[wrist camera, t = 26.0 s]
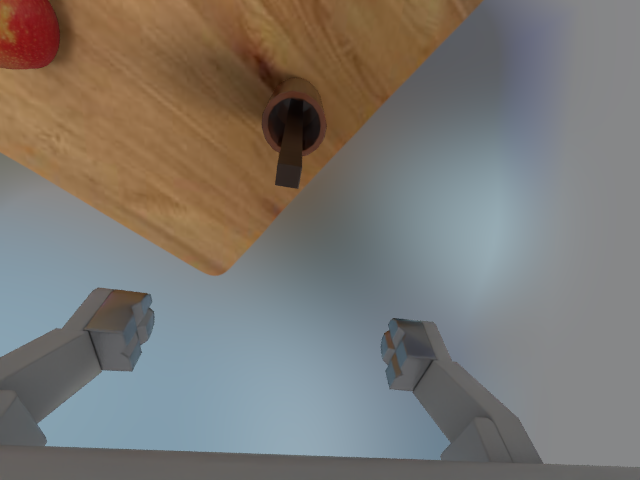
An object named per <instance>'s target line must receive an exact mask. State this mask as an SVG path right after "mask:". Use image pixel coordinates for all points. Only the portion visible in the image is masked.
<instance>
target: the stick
mask: <svg viewBox="0 0 640 480" xmlns="http://www.w3.org/2000/svg"><path fill="white" fill-rule="evenodd" d="M302 140H303V101H298V100H293V99H290V104H289V109H288V114H287V119H286V124H285V129H284V134H283V139H282V144H281V149H280V154H279V159H278V165H277V173H276V181H275V185H278V186H284V187H291V188H297V189H298V188H299V182H300V176H301V170H302Z"/></svg>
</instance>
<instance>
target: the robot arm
mask: <svg viewBox="0 0 640 480" xmlns="http://www.w3.org/2000/svg"><path fill="white" fill-rule="evenodd" d="M151 303H152V298H151V295H150V294H147V293H140V292H132V291H124V290H114V289H106V288H97V289H95V290H93V291H92V292H91V293H90V295H89V296H88V297H87V299H86V300H85V301H84V302H83V303H82V304H81V306H80V307H79V308H78V309H77V311H76V312H75V313H74V315H73V316H72V317H71V318H70V319H69V320H68V322H67V323H66V324H65V325H64V327H63V328H62V329H57V328H56V329H54V330H52V331H50V332H48V333H46V334H45V335H43V336H41V337H39V338H37V339H35V340H33V341H31V342H29V343H27V344H25V345H23V346H21V347H20V348H18V349H16V350H14V351H12V352H10V353H8V354H6V355H4V356H2V357H0V480H640V467H617V466H589V465H561V464H543V462H542V460H541V458H540V457H539V455H538V453H537V451H536V449H535V448H534V446H533V444H532V442H531V440H530V438H529V437H528V435H527V433H526V431H525V429H524V427H523V426H522V424H521V422H520V420H519V419H518V417H516V416H515V415H514V414H513V413H512V412H511V411H510V410H509V409H508V408H507V407H505V406H504V405H503V404H502V403H501V402H500V401H499V400H498V399H496V398H495V397H494V396H493V395H492V394H491V393H490V392H489V391H488V390H487V389H486V388H484V387H483V386H482V385H481V384H480V383H479V382H478V381H477V380H476V379H474V378H473V377H472V376H471V375H470V374H469V373H468V372H467V371H466V370H465V369H464V368H462V367H461V366H460V365H459V364H458V363H457V362H452V359H451V358H450V355H449V353H448V351H447V349H446V346H445V344H444V342H443V340H442V337H441V335H440V333H439V331H438V329H437V326H436V324H435V323H434V322H428V321H418V320H407V319H397V318H393V319H392V320H391V321H390V322H389V324H388V327H389V331H387V332H386V333H384V335H383V337H382V341H381V354H382V359H383V361H384V362H385V363H386V364H387V365H388V367H387V369H386V376H387V380H388V384H389V388H390V389H395V390H405V391H413V394H414V395H415V396H416V397H417V399H418V400H419V401H420V403H421V404H422V405H423V407H424V408H425V409H426V411H427V412H428V413H429V415H430V416H431V417H432V418H433V420H434V421H435V423H436V424H437V425H438V427H439V428H440V429H441V431H442V432H443V433H444V434H445V436H446V437H447V438H448V440H449V441H450V442H451V444H450V445H449V446H448V447H447V448H446V449H445V450H444V451H443V453H442V454H441V456H440V457H441V460H417V459H389V458H388V459H387V458H361V457H333V456H305V455H277V454H250V453H249V454H248V453H222V452H192V451H163V450H136V449H133V450H132V449H107V448H106V449H105V448H79V447H50V446H45V444H46V443H47V440H46V437H45V435H44V434H43V432H42V431H41V429H40V428H39V426H38V425H37V423H39V422H40V421H41V420H42V419H44V418H45V417H46V416H47V415H49V414H50V413H51V412H52V411H54V410H55V409H56V408H57V407H58V406H60V405H61V404H62V403H64V402H65V401H66V400H67V399H68V398H70V397H71V396H72V395H74V394H75V393H76V392H77V391H78V390H80V389H81V388H82V387H84V386H85V385H86V384H87V383H89V382H90V381H91V380H92V379H94V378H95V377H96V376H97V375H98V374H100V373H101V372H102V371H101V370H112V371H133V369H134V367H135V365H136V363H137V361H138V359H139V357H140V355H141V353H142V351H141V346H140V345H142V344H143V343H145V342H146V341H147V340H148V339H149V337H150V335H151V332H152V329H153V326H154V311H153V310H152V309H151V308H149V307H150V305H151Z"/></svg>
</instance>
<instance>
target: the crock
mask: <svg viewBox="0 0 640 480" xmlns="http://www.w3.org/2000/svg"><path fill="white" fill-rule="evenodd" d="M290 99H293V100H298V101H303V140H302V156H306V155H309V154H310V153H312V152H313V151H314V150H316V149H317V148H318V147H319V145H320V144H321V142H322V141H323V139H324V137H325V132H326V127H327V126H326V125H327V124H326V119H325V114H324V109H323V105H322V101H321V96H320V94H319V92H318V90H317V89H316V88H315V86H314V85H313V84H312V83H310V82H309V81H307V80H305V79H302V78H297V77H293V78H289V79H286V80H284V81H282V82H281V83H280V84H279V85H278V86H277V87H276V88H275V90H274V92H273V94H272V96H271V98H270V100H269V102H268V104H267V106H266V108H265V110H264V112H263V117H262V129H263V133H264V136H265V139H266V141H267V142H268V143H269V144H270V146H271V147H272V148H273V149H274V150H275V151H277V152H279V153H280V149H281V144H282V139H283V134H284V129H285V124H286V119H287V114H288V109H289V104H290Z"/></svg>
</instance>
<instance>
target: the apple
mask: <svg viewBox="0 0 640 480" xmlns="http://www.w3.org/2000/svg"><path fill="white" fill-rule="evenodd" d="M59 41H60V31H59V25H58V21H57V17H56V14H55V12H54V10H53V8H52V6H51V4H50V2H49V1H48V0H0V68H6V69H35V68H42V67H44V66H47V65H48V64H49V63H51V61H52V60H53V59H54V57H55V55H56V53H57V51H58V48H59Z"/></svg>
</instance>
